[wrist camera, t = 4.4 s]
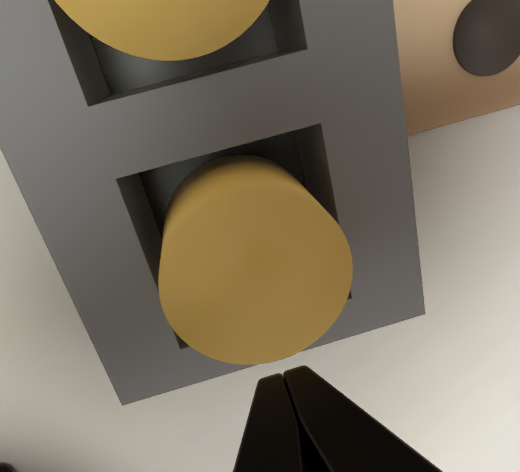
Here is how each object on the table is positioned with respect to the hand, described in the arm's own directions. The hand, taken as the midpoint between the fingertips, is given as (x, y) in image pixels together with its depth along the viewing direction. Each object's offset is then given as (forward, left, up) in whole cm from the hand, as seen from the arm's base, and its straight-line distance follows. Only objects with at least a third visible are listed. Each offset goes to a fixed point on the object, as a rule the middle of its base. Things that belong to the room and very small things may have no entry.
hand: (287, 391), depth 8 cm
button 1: (0, 0, -8) cm, 8 cm away
